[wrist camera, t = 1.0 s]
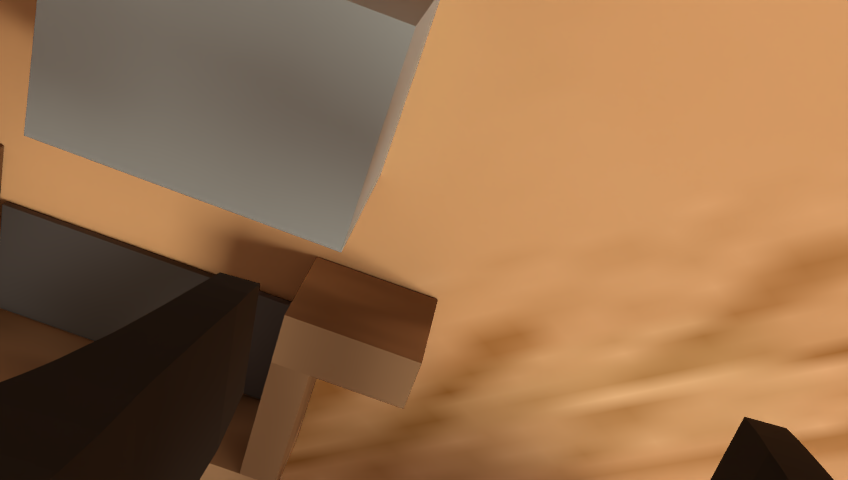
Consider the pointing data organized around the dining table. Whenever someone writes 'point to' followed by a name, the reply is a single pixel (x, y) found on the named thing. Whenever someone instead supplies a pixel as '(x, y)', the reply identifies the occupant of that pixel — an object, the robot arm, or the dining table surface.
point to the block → (232, 98)
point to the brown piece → (271, 340)
